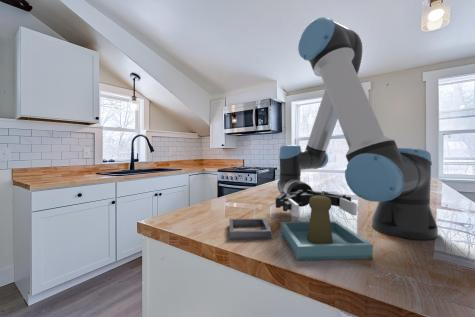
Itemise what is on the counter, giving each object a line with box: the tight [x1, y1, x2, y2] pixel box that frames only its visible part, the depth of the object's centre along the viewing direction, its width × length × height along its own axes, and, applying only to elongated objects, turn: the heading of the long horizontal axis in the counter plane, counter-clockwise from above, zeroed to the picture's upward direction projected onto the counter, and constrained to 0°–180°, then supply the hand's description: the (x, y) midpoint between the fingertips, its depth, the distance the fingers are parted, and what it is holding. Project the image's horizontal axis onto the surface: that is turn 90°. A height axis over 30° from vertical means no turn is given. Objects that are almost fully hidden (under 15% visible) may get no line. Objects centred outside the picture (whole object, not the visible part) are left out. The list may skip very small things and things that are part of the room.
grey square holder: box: [229, 217, 273, 241], centre depth 64 cm, size 11×11×2 cm
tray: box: [280, 220, 374, 262], centre depth 55 cm, size 16×16×3 cm
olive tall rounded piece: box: [307, 195, 333, 244], centre depth 56 cm, size 6×6×11 cm
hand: (326, 210), depth 52 cm, fingers open, 13 cm apart
